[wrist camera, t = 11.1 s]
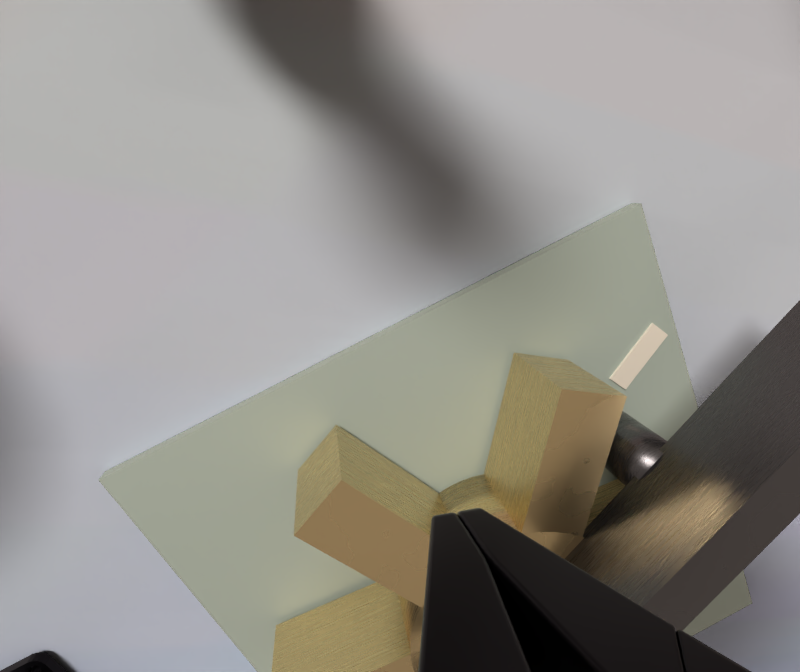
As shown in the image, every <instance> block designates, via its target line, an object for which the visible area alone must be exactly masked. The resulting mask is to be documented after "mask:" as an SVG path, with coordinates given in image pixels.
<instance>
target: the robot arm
mask: <svg viewBox="0 0 800 672" xmlns="http://www.w3.org/2000/svg"><path fill="white" fill-rule="evenodd" d="M0 672H67V671H66V670H64V669H63V668H62V667H61V666H60V665H59V664H58V663H57V662H56V661H55V660H54V659H53V658H52V657H51V656H50V655H48V654H46V653H35V654H32V655H30V656H28V657H26V658H24V659H22V660H20V661H18V662H16V663H15V664H13V665H11V666H9V667H7V668H5V669H3V670H1V671H0ZM418 672H751V671H749V670H747V669H746V668H744V667H742V666H741V665H739V664H737V663H735V662H734V661H732V660H730V659H729V658H727V657H725V656H724V655H722V654H720V653H718V652H717V651H715V650H713V649H712V648H710V647H708V646H707V645H705V644H703V643H702V642H700V641H698V640H697V639H695V638H693V637H692V636H690V635H689V634H687V633H685V632H684V631H682V630H677V631H676V629H675V627H674V626H673V625H672V624H670V623H669V622H667V621H665V620H664V619H662V618H660V617H659V616H657V615H655V614H654V613H652V612H651V611H649V610H647V609H646V608H644V607H642V606H641V605H639V604H637V603H636V602H634V601H632V600H631V599H629V598H628V597H626V596H624V595H623V594H621V593H619V592H618V591H616V590H614V589H613V588H611V587H610V586H608V585H606V584H605V583H603V582H601V581H600V580H598V579H596V578H595V577H593V576H592V575H590V574H588V573H587V572H585V571H583V570H582V569H580V568H578V567H577V566H575V565H573V564H572V563H570V562H569V561H567V560H565V559H564V558H562V557H560V556H559V555H557V554H555V553H554V552H552V551H551V550H549V549H547V548H546V547H544V546H542V545H541V544H539V543H537V542H536V541H534V540H533V539H531V538H529V537H528V536H526V535H524V534H523V533H521V532H519V531H518V530H516V529H515V528H513V527H511V526H510V525H508V524H506V523H505V522H503V521H501V520H500V519H498V518H496V517H495V516H493V515H492V514H490V513H488V512H487V511H485V510H483V509H481V508H474V509H468V510H463V511H459V512H458V513H457V514H456V513H445V514H440V515H435V516H433V517H432V519H431V529H430V540H429V552H428V563H427V575H426V587H425V598H424V610H423V621H422V633H421V644H420V656H419V667H418Z"/></svg>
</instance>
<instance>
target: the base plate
mask: <svg viewBox="0 0 800 672" xmlns="http://www.w3.org/2000/svg"><path fill="white" fill-rule="evenodd" d="M514 353H521V354H528V355H536V356H544V357H551V358H559V359H567V360H569V361H571V362H573V363H574V364H576V365H577V366H579V367H581V368H582V369H584V370H585V371H587V372H589V373H590V374H592V375H593V376H595V377H597V378H598V379H600V380H601V381H603V382H605V383H606V384H608V385H609V386H611V387H613V388H614V389H616V390H617V391H619V392H621V393H622V394H624V395H625V396H627V398H626V401H625V404H624V408H623V411H624V412H625V413H627V414H628V415H630V416H631V417H633V418H634V419H636V420H637V421H639V422H640V423H641V424H643V425H644V426H646V427H647V428H649V429H650V430H652V431H653V432H655V433H656V434H658V435H659V436H661V437H662V438H664V439H665V440H666V441H668V440H669V439H670V438H671V437H672V436H673V435H674V434H675V433H676V431H677V430H678V429H679V428H680V427H681V426H682V425H683V424H684V423H685V422H686V421H687V420H688V419H689V418H690V417H691V416H692V414H693V413H694V412H695V411H696V410H697V409H698V406H697V402H696V399H695V395H694V392H693V388H692V384H691V381H690V377H689V374H688V370H687V367H686V363H685V359H684V356H683V352H682V349H681V345H680V341H679V338H678V334H677V331H676V327H675V323H674V320H673V316H672V313H671V309H670V305H669V302H668V298H667V295H666V291H665V287H664V284H663V280H662V277H661V273H660V269H659V266H658V262H657V259H656V255H655V251H654V248H653V244H652V241H651V237H650V233H649V230H648V226H647V223H646V219H645V215H644V212H643V208H642V205H641V204H638V203H632V204H630V205H628V206H626V207H624V208H622V209H620V210H618V211H616V212H614V213H612V214H610V215H608V216H606V217H604V218H602V219H600V220H598V221H596V222H594V223H592V224H590V225H588V226H586V227H585V228H583V229H581V230H579V231H577V232H575V233H573V234H571V235H569V236H567V237H565V238H563V239H561V240H559V241H557V242H555V243H553V244H551V245H549V246H547V247H545V248H543V249H541V250H539V251H537V252H535V253H533V254H531V255H530V256H528V257H526V258H524V259H522V260H520V261H518V262H516V263H514V264H512V265H510V266H508V267H506V268H504V269H502V270H500V271H498V272H496V273H494V274H492V275H490V276H488V277H486V278H484V279H482V280H480V281H478V282H476V283H475V284H473V285H471V286H469V287H467V288H465V289H463V290H461V291H459V292H457V293H455V294H453V295H451V296H449V297H447V298H445V299H443V300H441V301H439V302H437V303H435V304H433V305H431V306H429V307H427V308H425V309H423V310H421V311H420V312H418V313H416V314H414V315H412V316H410V317H408V318H406V319H404V320H402V321H400V322H398V323H396V324H394V325H392V326H390V327H388V328H386V329H384V330H382V331H380V332H378V333H376V334H374V335H372V336H370V337H368V338H366V339H365V340H363V341H361V342H359V343H357V344H355V345H353V346H351V347H349V348H347V349H345V350H343V351H341V352H339V353H337V354H335V355H333V356H331V357H329V358H327V359H325V360H323V361H321V362H319V363H317V364H315V365H313V366H312V367H310V368H308V369H306V370H304V371H302V372H300V373H298V374H296V375H294V376H292V377H290V378H288V379H286V380H284V381H282V382H280V383H278V384H276V385H274V386H272V387H270V388H268V389H266V390H264V391H262V392H260V393H258V394H257V395H255V396H253V397H251V398H249V399H247V400H245V401H243V402H241V403H239V404H237V405H235V406H233V407H231V408H229V409H227V410H225V411H223V412H221V413H219V414H217V415H215V416H213V417H211V418H209V419H207V420H205V421H203V422H202V423H200V424H198V425H196V426H194V427H192V428H190V429H188V430H186V431H184V432H182V433H180V434H178V435H176V436H174V437H172V438H170V439H168V440H166V441H164V442H162V443H160V444H158V445H156V446H154V447H152V448H150V449H148V450H147V451H145V452H143V453H141V454H139V455H137V456H135V457H133V458H131V459H129V460H127V461H125V462H123V463H121V464H119V465H117V466H115V467H113V468H111V469H109V470H107V471H105V472H104V474H103V475H102V476H101V477H100V479H99V481H100V482H101V484H102V485H103V486H104V487H105V489H106V490H107V491H108V492H109V493H110V495H111V496H112V497H113V498H114V499H115V501H116V502H117V503H118V504H119V505H120V507H121V508H122V509H123V510H124V511H125V513H126V514H127V515H128V516H129V517H130V519H131V520H132V521H133V522H134V523H135V525H136V526H137V527H138V528H139V530H140V531H141V532H142V533H143V534H144V536H145V537H146V538H147V539H148V540H149V542H150V543H151V544H152V545H153V546H154V548H155V549H156V550H157V551H158V552H159V554H160V555H161V556H162V557H163V558H164V560H165V561H166V562H167V563H168V564H169V566H170V567H171V568H172V569H173V571H174V572H175V573H176V574H177V575H178V577H179V578H180V579H181V580H182V581H183V583H184V584H185V585H186V586H187V587H188V589H189V590H190V591H191V592H192V593H193V595H194V596H195V597H196V598H197V599H198V601H199V602H200V603H201V604H202V605H203V607H204V608H205V609H206V610H207V612H208V613H209V614H210V615H211V616H212V618H213V619H214V620H215V621H216V622H217V624H218V625H219V626H220V627H221V628H222V630H223V631H224V632H225V633H226V634H227V636H228V637H229V638H230V639H231V640H232V642H233V643H234V644H235V645H236V646H237V648H238V649H239V650H240V651H241V653H242V654H243V655H244V656H245V657H246V659H247V660H248V661H249V662H250V663H251V665H252V666H253V667H254V668H255V669H256V671H257V672H272V662H273V651H274V640H275V629H276V625H278V624H280V623H282V622H285V621H287V620H289V619H292V618H294V617H296V616H299V615H301V614H303V613H306V612H308V611H310V610H313V609H315V608H317V607H320V606H322V605H324V604H327V603H329V602H331V601H334V600H336V599H338V598H341V597H343V596H345V595H348V594H350V593H352V592H355V591H357V590H359V589H362V588H364V587H366V586H369V585H371V584H373V583H376V582H375V581H373V580H372V579H370V578H368V577H366V576H364V575H363V574H361V573H359V572H357V571H356V570H354V569H352V568H350V567H348V566H347V565H345V564H343V563H341V562H340V561H338V560H336V559H334V558H332V557H331V556H329V555H327V554H325V553H324V552H322V551H320V550H318V549H316V548H315V547H313V546H311V545H309V544H308V543H306V542H304V541H302V540H300V539H299V538H297V537H295V536H294V523H295V507H296V491H297V476H298V469H299V468H300V467H301V466H302V465H303V463H304V462H305V461H306V460H307V459H308V457H309V456H310V455H311V454H312V453H313V451H314V450H315V449H316V448H317V447H318V445H319V444H320V443H321V442H322V441H323V440H324V438H325V437H326V436H327V435H328V434H329V432H330V431H331V430H332V429H333V428H334V426H335V425H338V426H339V427H341V428H342V429H344V430H345V431H347V432H348V433H350V434H351V435H353V436H354V437H356V438H357V439H359V440H360V441H361V442H363V443H364V444H366V445H367V446H369V447H370V448H372V449H373V450H375V451H376V452H378V453H379V454H381V455H382V456H384V457H385V458H387V459H388V460H390V461H391V462H393V463H394V464H396V465H397V466H399V467H400V468H402V469H403V470H405V471H406V472H408V473H409V474H411V475H412V476H414V477H415V478H417V479H418V480H420V481H421V482H423V483H424V484H426V485H427V486H429V487H430V488H432V489H433V490H435V491H436V492H437V493H440V492H441V491H443V490H445V489H446V488H448V487H450V486H452V485H454V484H456V483H458V482H460V481H463V480H466V479H468V478H471V477H475V476H479V475H483V474H484V471H485V467H486V463H487V459H488V455H489V451H490V447H491V443H492V439H493V435H494V431H495V427H496V423H497V419H498V415H499V411H500V406H501V402H502V398H503V394H504V390H505V386H506V382H507V378H508V374H509V370H510V366H511V362H512V358H513V354H514ZM616 479H617V478H616V477H615V476H614V475H613V474H612V473H611V472H610V471H608V470H607V469H606V468H604V471H603V474H602V477H601V480H600V484H599V487H600V486H602V485H604V484H607V483H609V482H611V481H614V480H616ZM750 604H752V600H751V597H750V593H749V590H748V586H747V582H746V579H745V575H744V572H743V571H742V572H741V573H740V574H739V575H738V576H737V577H736V578H735V579H734V580H733V581H732V582H731V583H730V584H729V585H728V586H727V587H726V588H725V589H724V590H723V591H722V592H721V593H720V594H719V595H718V596H717V597H716V598H715V599H714V600H713V601H712V602H711V603H710V604H709V605H708V606H707V607H706V608H705V609H704V610H703V611H702V612H701V613H700V614H699V615H698V616H697V617H696V618H695V619H694V620H693V621H692V622H691V623H690V624H689V625H688V626H687V627H686V628H685V629H684V630H683V631H684V632H685V633H687V634H689V635H690V636H693V635H695V634H697V633H699V632H700V631H702V630H704V629H706V628H708V627H710V626H711V625H713V624H715V623H717V622H719V621H721V620H722V619H724V618H726V617H728V616H730V615H732V614H733V613H735V612H737V611H739V610H741V609H743V608H745V607H746V606H748V605H750Z"/></svg>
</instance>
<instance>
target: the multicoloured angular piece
mask: <svg viewBox="0 0 800 672" xmlns="http://www.w3.org/2000/svg"><path fill="white" fill-rule="evenodd" d="M626 398H627V396H625V395H624V394H622V393H621V392H619V391H617V390H616V389H614V388H613V387H611V386H609V385H608V384H606V383H605V382H603V381H601V380H600V379H598V378H597V377H595V376H593V375H592V374H590V373H589V372H587V371H585V370H584V369H582V368H581V367H579V366H577V365H576V364H574V363H573V362H571V361H569V360H567V359H559V358H551V357H544V356H536V355H528V354H521V353H514V354H513V358H512V362H511V366H510V370H509V374H508V378H507V382H506V386H505V390H504V394H503V398H502V402H501V406H500V411H499V415H498V419H497V423H496V427H495V431H494V435H493V439H492V443H491V447H490V451H489V455H488V459H487V463H486V467H485V471H484V474H483V475H479V476H475V477H471V478H468V479H466V480H463V481H460V482H458V483H456V484H454V485H452V486H450V487H448V488H446V489H445V490H443V491H441V492H440V493H437V492H436V491H435V490H433V489H432V488H430V487H429V486H427V485H426V484H424V483H423V482H421V481H420V480H418V479H417V478H415V477H414V476H412V475H411V474H409V473H408V472H406V471H405V470H403V469H402V468H400V467H399V466H397V465H396V464H394V463H393V462H391V461H390V460H388V459H387V458H385V457H384V456H382V455H381V454H379V453H378V452H376V451H375V450H373V449H372V448H370V447H369V446H367V445H366V444H364V443H363V442H361V441H360V440H359V439H357V438H356V437H354V436H353V435H351V434H350V433H348V432H347V431H345V430H344V429H342V428H341V427H339V426H338V425H335V426H334V428H333V429H332V430H331V431H330V432H329V434H328V435H327V436H326V437H325V438H324V440H323V441H322V442H321V443H320V444H319V445H318V447H317V448H316V449H315V450H314V451H313V453H312V454H311V455H310V456H309V457H308V459H307V460H306V461H305V462H304V463H303V465H302V466H301V467H300V468H299V469H298V476H297V491H296V507H295V523H294V536H295V537H297V538H299V539H300V540H302V541H304V542H306V543H308V544H309V545H311V546H313V547H315V548H316V549H318V550H320V551H322V552H324V553H325V554H327V555H329V556H331V557H332V558H334V559H336V560H338V561H340V562H341V563H343V564H345V565H347V566H348V567H350V568H352V569H354V570H356V571H357V572H359V573H361V574H363V575H364V576H366V577H368V578H370V579H372V580H373V581H375V582H376V583H373V584H371V585H369V586H366V587H364V588H362V589H359V590H357V591H355V592H352V593H350V594H348V595H345V596H343V597H341V598H338V599H336V600H334V601H331V602H329V603H327V604H324V605H322V606H320V607H317V608H315V609H313V610H310V611H308V612H306V613H303V614H301V615H299V616H296V617H294V618H292V619H289V620H287V621H285V622H282V623H280V624H278V625H276V629H275V640H274V651H273V662H272V672H418V667H419V656H420V644H421V633H422V621H423V610H424V598H425V587H426V575H427V563H428V552H429V540H430V529H431V519H432V517H433V516H435V515H440V514H445V513H456V514H457V513H458V512H459V511H463V510H468V509H474V508H481V509H483V510H485V511H487V512H488V513H490V514H492V515H493V516H495V517H496V518H498V519H500V520H501V521H503V522H505V523H506V524H508V525H510V526H511V527H513V528H515V529H516V530H518V531H519V532H521V533H523V534H524V535H526V536H528V537H529V538H531V539H533V540H534V541H536V542H537V543H539V544H541V545H542V546H544V547H546V548H547V549H549V550H551V551H552V552H554V553H555V554H557V555H559V556H560V557H562V558H564V559H565V560H567V561H569V562H570V563H572V564H573V565H575V566H577V567H578V568H580V569H582V570H583V571H585V572H587V573H588V574H590V575H592V576H593V577H595V578H596V579H598V580H600V581H601V582H603V583H605V584H606V585H608V586H610V587H611V588H613V589H614V590H616V591H618V592H619V593H621V594H623V595H624V596H626V597H628V598H629V599H631V600H632V601H634V602H636V603H637V604H639V605H641V606H642V607H644V608H646V609H647V610H649V611H651V612H652V613H654V614H655V615H657V616H659V617H660V618H662V619H664V620H665V621H667V622H669V623H670V624H672V625H673V626H674V627H675V629H676V631H677V630H682V631H683V630H684V629H685V628H686V627H687V626H688V625H689V624H690V623H691V622H692V621H693V620H694V619H695V618H696V617H697V616H698V615H699V614H700V613H701V612H702V611H703V610H704V609H705V608H706V607H707V606H708V605H709V604H710V603H711V602H712V601H713V600H714V599H715V598H716V597H717V596H718V595H719V594H720V593H721V592H722V591H723V590H724V589H725V588H726V587H727V586H728V585H729V584H730V583H731V582H732V581H733V580H734V579H735V578H736V577H737V576H738V575H739V574H740V573H741V572H742V571H743V570H744V569H745V568H746V567H747V566H748V565H749V564H750V563H751V562H752V561H753V560H754V559H755V558H756V557H757V556H758V555H759V554H760V553H761V552H762V551H763V550H764V549H765V548H766V547H767V546H768V545H769V544H770V543H771V542H772V541H773V540H774V539H775V538H776V537H777V536H778V535H779V534H780V533H781V532H782V531H783V530H784V529H785V528H786V527H787V526H788V525H789V524H790V523H791V522H792V521H793V520H794V519H795V518H796V517H797V516H798V515H799V514H800V301H799V302H798V303H797V304H796V305H795V306H794V307H793V308H792V309H791V310H790V311H789V312H788V313H787V314H786V316H785V317H784V318H783V319H782V320H781V321H780V322H779V323H778V324H777V325H776V326H775V327H774V328H773V329H772V330H771V331H770V333H769V334H768V335H767V336H766V337H765V338H764V339H763V340H762V341H761V342H760V343H759V344H758V345H757V346H756V347H755V348H754V350H753V351H752V352H751V353H750V354H749V355H748V356H747V357H746V358H745V359H744V360H743V361H742V362H741V363H740V364H739V366H738V367H737V368H736V369H735V370H734V371H733V372H732V373H731V374H730V375H729V376H728V377H727V378H726V379H725V380H724V381H723V383H722V384H721V385H720V386H719V387H718V388H717V389H716V390H715V391H714V392H713V393H712V394H711V395H710V396H709V397H708V398H707V400H706V401H705V402H704V403H703V404H702V405H701V406H700V407H699V408H698V409H697V410H696V411H695V412H694V413H693V414H692V416H691V417H690V418H689V419H688V420H687V421H686V422H685V423H684V424H683V425H682V426H681V427H680V428H679V429H678V430H677V431H676V433H675V434H674V435H673V436H672V437H671V438H670V439H669V440H668V441H666V440H665V439H664V438H662V437H661V436H659V435H658V434H656V433H655V432H653V431H652V430H650V429H649V428H647V427H646V426H644V425H643V424H641V423H640V422H639V421H637V420H636V419H634V418H633V417H631V416H630V415H628V414H627V413H625V412H624V411H623V408H624V404H625V401H626ZM604 468H606V469H607V470H608V471H610V472H611V473H612V474H613V475H614V476H615V477H616V478H617V479H616V480H614V481H611V482H609V483H607V484H604V485H602V486H600V487H599V484H600V480H601V477H602V474H603V471H604Z"/></svg>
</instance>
